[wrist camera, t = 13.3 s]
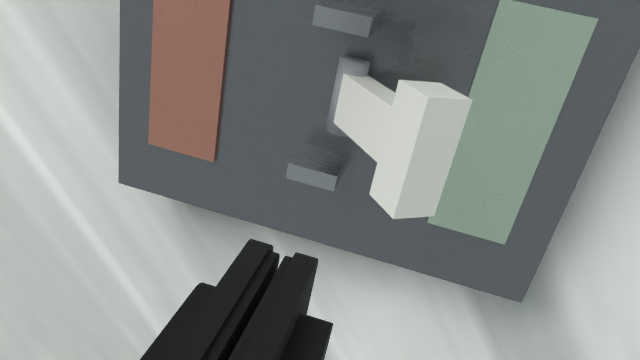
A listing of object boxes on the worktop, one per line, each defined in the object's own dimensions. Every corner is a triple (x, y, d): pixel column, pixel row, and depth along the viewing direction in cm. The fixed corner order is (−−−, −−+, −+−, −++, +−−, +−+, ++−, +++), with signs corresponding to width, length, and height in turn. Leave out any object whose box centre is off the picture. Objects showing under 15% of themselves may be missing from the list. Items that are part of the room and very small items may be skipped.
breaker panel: (154, 159, 42) (87, 203, 34) (167, -145, 32) (78, -180, 25) (513, 262, 38) (528, 338, 30) (649, -53, 28) (723, -60, 20)
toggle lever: (314, 136, 31) (393, 219, 23) (332, 40, 28) (428, 97, 21) (348, 137, 32) (434, 216, 24) (368, 44, 29) (472, 99, 22)
